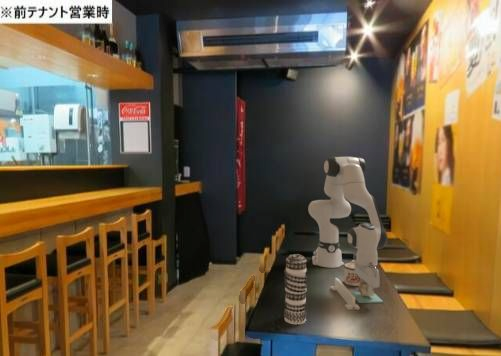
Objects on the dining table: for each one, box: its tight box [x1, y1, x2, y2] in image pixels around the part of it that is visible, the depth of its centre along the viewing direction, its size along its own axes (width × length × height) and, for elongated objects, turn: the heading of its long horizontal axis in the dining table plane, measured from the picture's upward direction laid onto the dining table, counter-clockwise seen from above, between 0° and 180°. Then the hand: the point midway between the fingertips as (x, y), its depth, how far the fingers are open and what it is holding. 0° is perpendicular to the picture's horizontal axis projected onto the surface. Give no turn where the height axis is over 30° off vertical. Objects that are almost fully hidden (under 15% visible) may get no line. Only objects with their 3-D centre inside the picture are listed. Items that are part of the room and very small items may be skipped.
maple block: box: [358, 281, 375, 296], centre depth 152 cm, size 5×5×5 cm
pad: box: [350, 291, 384, 304], centre depth 152 cm, size 11×11×1 cm
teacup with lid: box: [343, 259, 360, 287], centre depth 170 cm, size 12×9×12 cm
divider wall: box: [330, 277, 361, 311], centre depth 151 cm, size 24×5×5 cm, turn 3°
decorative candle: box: [283, 253, 309, 325], centre depth 130 cm, size 9×9×25 cm
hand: (366, 290), depth 152 cm, fingers closed on maple block, 5 cm apart
